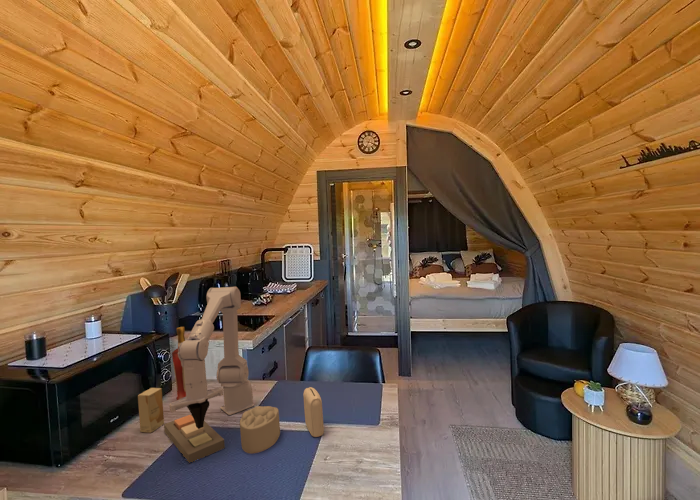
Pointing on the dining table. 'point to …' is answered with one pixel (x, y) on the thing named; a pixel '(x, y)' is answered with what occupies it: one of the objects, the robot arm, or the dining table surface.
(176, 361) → the liquor
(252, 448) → the lumpy-topped squat cylinder
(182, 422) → the terracotta key
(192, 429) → the cream key
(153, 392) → the skincare box
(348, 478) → the dining table surface
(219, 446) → the keypad base
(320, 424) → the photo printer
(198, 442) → the sage key
